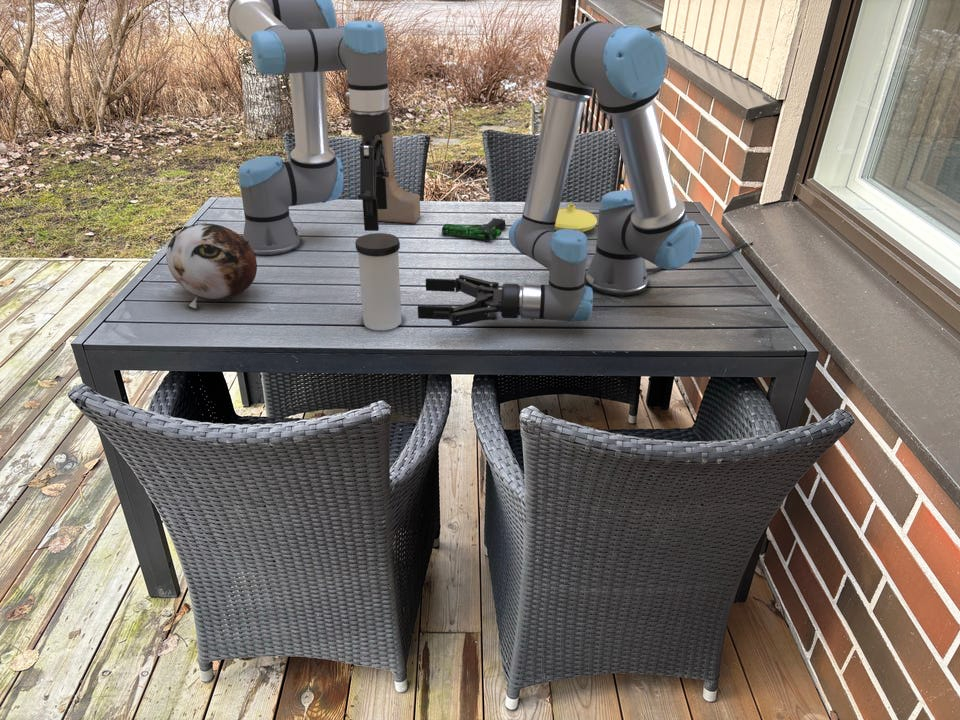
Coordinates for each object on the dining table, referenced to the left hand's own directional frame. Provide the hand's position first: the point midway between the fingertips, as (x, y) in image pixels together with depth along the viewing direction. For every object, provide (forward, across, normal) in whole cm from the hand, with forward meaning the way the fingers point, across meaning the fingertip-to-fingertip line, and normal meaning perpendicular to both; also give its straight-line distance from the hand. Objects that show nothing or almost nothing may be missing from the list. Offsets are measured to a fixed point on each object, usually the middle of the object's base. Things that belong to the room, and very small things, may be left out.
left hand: (376, 219), depth 147 cm
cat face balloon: (+24, -11, -40) cm, 48 cm away
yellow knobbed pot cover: (+24, -60, +47) cm, 80 cm away
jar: (+24, 0, 0) cm, 24 cm away
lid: (+5, 0, 0) cm, 5 cm away
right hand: (+17, +1, +9) cm, 20 cm away
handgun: (+24, -57, +20) cm, 64 cm away
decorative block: (+24, -67, -6) cm, 71 cm away
